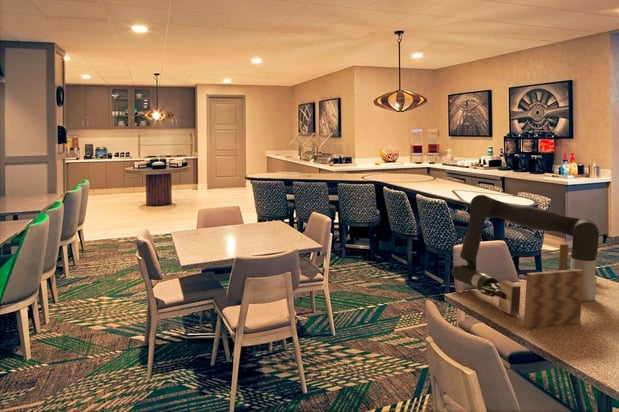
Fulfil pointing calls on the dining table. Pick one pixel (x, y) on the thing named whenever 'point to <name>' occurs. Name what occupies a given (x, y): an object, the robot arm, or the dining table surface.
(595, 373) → the dining table surface
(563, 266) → the wooden block
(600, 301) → the dining table surface
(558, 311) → the zigzag wooden panel
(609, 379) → the dining table surface
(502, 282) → the rail end
